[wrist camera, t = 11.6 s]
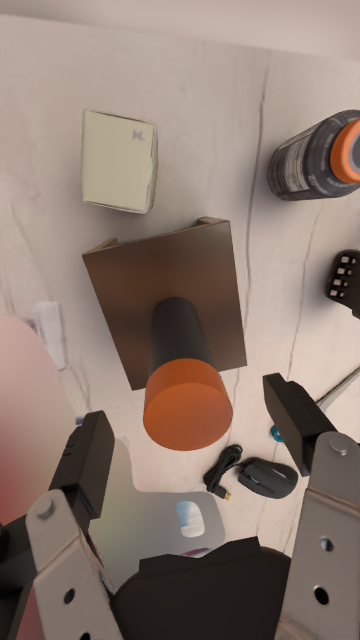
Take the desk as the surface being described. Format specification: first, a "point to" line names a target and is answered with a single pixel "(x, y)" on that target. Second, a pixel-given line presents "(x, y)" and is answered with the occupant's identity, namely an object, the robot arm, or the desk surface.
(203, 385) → the cylinder
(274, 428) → the scissors
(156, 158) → the box
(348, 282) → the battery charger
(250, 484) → the computer mouse
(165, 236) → the shelf
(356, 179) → the pill bottle
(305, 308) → the desk surface
